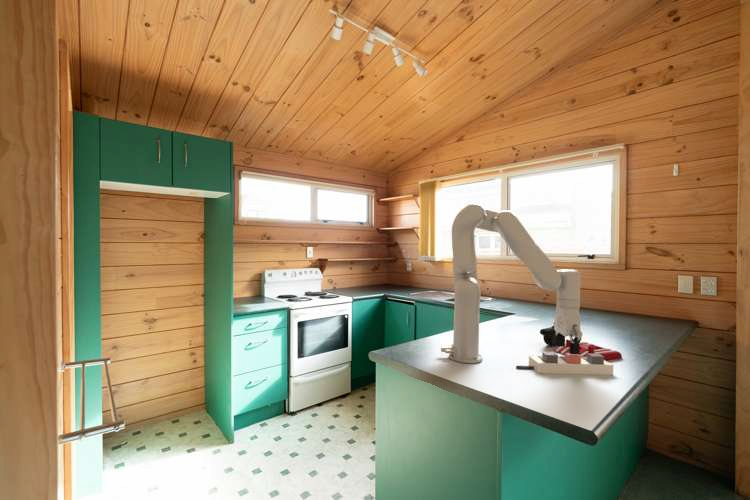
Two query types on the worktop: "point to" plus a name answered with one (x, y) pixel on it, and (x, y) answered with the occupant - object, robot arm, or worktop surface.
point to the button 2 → (572, 358)
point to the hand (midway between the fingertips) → (567, 350)
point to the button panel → (568, 366)
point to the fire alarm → (589, 350)
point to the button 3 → (595, 358)
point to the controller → (549, 335)
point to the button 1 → (549, 357)
